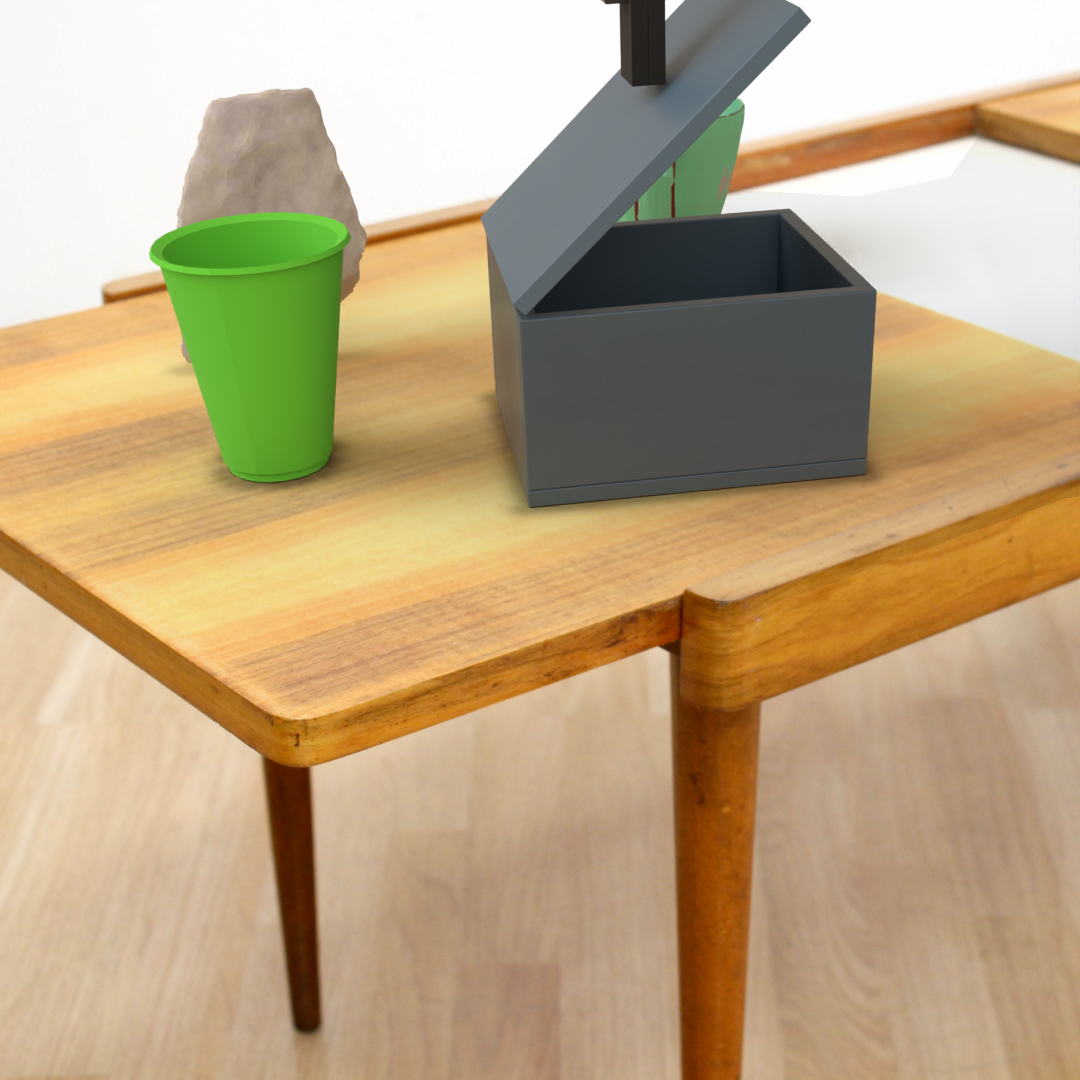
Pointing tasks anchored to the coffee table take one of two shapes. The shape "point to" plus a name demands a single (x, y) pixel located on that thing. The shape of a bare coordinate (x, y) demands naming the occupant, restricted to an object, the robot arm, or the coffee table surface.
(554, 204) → the lid
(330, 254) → the cup
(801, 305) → the chest
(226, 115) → the stone
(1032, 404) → the coffee table surface
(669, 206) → the mug
